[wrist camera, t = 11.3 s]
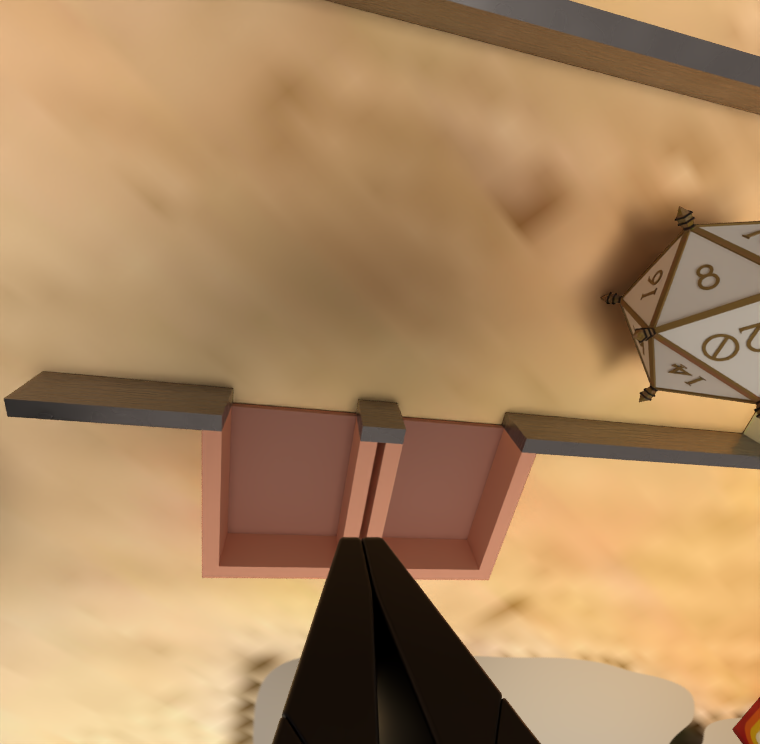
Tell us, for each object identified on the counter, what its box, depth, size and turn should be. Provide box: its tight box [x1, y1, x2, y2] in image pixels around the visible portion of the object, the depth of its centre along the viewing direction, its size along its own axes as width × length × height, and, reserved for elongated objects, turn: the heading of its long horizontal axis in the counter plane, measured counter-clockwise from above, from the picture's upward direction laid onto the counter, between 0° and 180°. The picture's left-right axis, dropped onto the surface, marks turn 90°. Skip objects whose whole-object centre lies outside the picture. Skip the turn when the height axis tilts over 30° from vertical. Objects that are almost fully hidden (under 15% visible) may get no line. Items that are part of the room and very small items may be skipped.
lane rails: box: [4, 0, 760, 469], centre depth 18 cm, size 38×17×2 cm, turn 80°
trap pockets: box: [202, 403, 536, 580], centre depth 22 cm, size 16×9×2 cm, turn 80°
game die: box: [600, 206, 760, 419], centre depth 17 cm, size 9×8×10 cm
